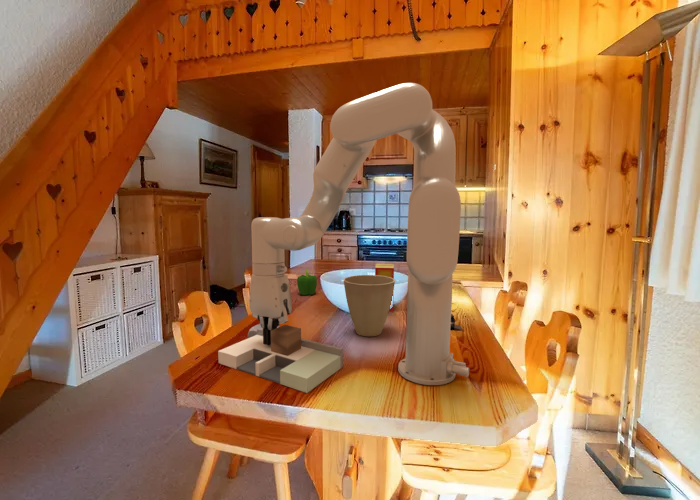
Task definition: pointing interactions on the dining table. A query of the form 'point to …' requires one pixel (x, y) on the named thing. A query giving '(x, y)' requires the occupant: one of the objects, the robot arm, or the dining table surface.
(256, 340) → the box
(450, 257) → the robot arm
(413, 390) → the dining table surface
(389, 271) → the baking soda box
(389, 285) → the plant pot
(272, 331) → the walnut cube
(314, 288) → the bell pepper
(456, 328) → the build plate
